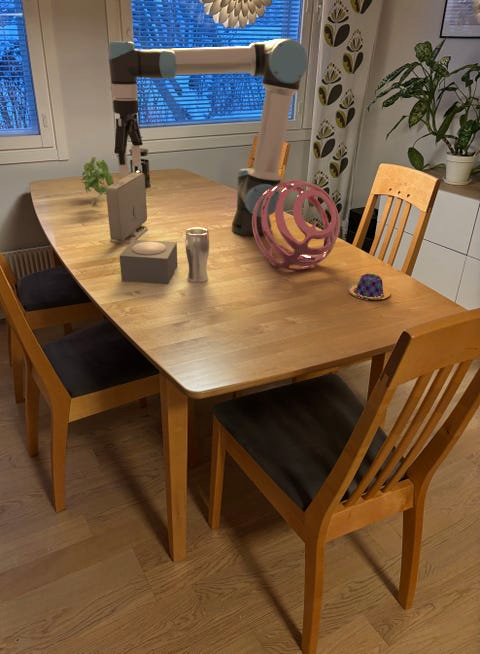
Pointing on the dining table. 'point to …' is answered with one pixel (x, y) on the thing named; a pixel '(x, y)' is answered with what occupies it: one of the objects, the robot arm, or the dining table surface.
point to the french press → (144, 166)
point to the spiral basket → (310, 232)
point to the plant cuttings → (96, 177)
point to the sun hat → (369, 286)
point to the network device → (127, 207)
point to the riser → (149, 261)
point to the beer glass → (197, 254)
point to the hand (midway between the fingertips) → (130, 170)
